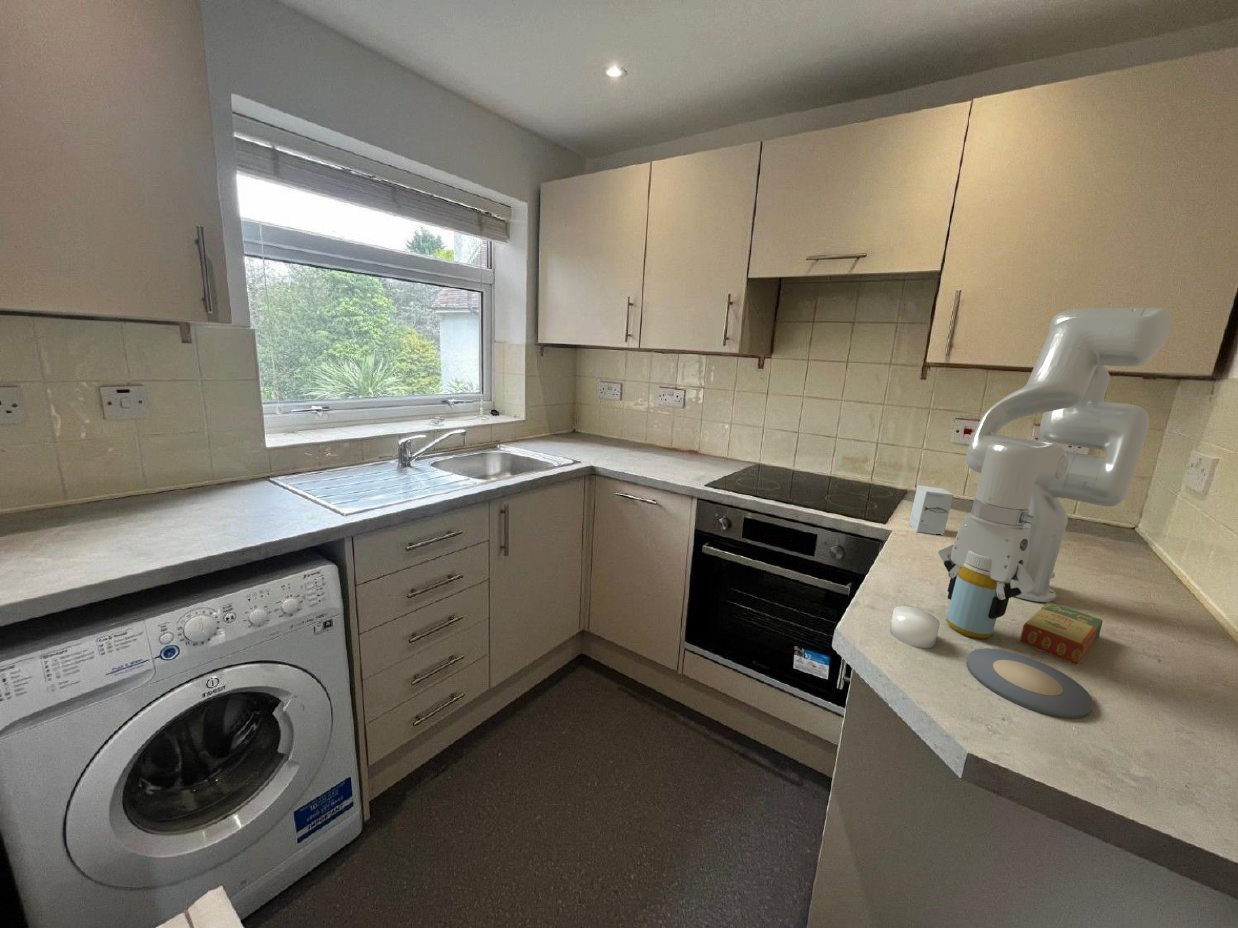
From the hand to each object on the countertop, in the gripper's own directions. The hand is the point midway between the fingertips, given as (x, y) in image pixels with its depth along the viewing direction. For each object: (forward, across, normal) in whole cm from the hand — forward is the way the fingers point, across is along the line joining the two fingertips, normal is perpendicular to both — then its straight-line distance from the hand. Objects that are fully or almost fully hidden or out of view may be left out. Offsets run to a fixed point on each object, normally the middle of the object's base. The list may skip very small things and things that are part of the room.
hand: (973, 606), depth 90 cm
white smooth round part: (+5, +2, +13) cm, 14 cm away
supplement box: (+5, +40, -49) cm, 63 cm away
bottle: (+5, 0, 0) cm, 5 cm away
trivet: (+5, -13, +8) cm, 16 cm away
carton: (+5, -8, -14) cm, 17 cm away
